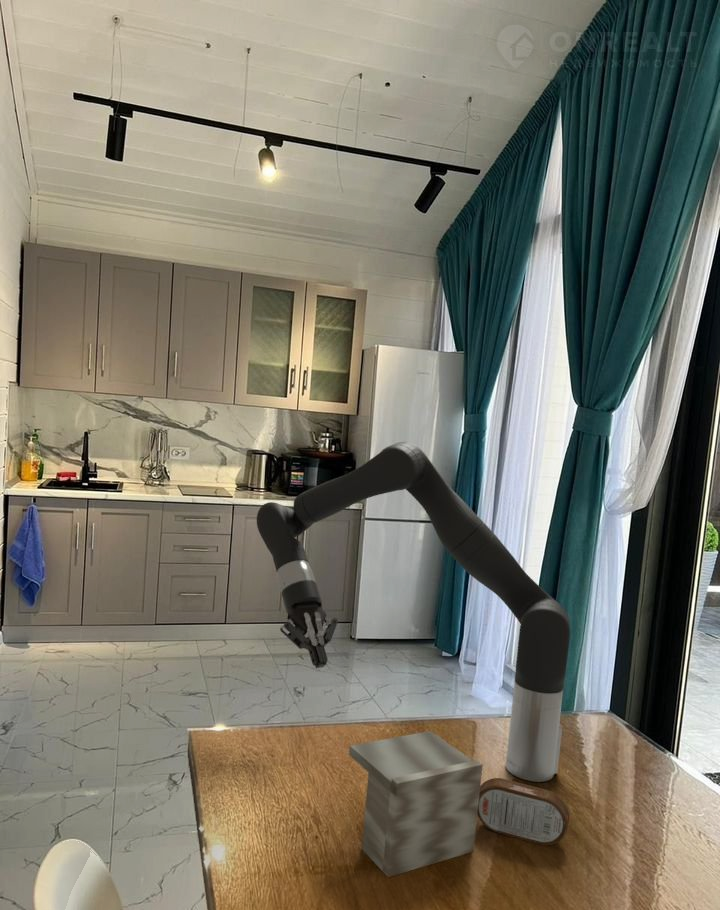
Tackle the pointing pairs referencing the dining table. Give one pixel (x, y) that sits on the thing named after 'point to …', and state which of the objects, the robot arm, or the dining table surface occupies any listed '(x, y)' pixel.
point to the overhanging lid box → (417, 801)
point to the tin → (522, 811)
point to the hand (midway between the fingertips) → (321, 666)
